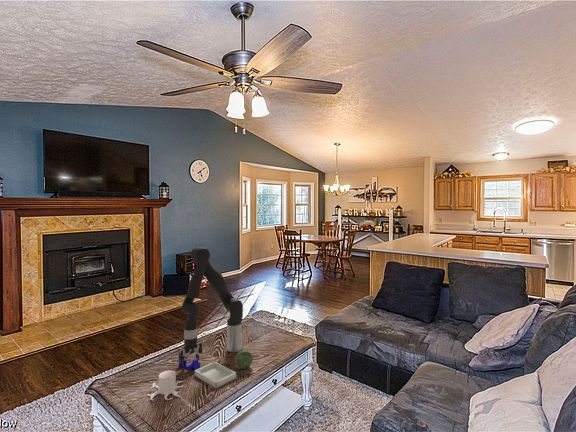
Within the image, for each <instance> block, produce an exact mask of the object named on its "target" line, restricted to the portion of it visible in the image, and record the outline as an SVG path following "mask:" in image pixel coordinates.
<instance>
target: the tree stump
mask: <svg viewBox="0 0 576 432" xmlns="http://www.w3.org/2000/svg"><path fill="white" fill-rule="evenodd" d="M176 373H177V371H174V370H165V371H162V372H161V373H158V374H159V375H158V385H156V381H155V382H153V383H152V386H151V387H150V388H149V390H150V389H153V388H156V391H154V393H153V392H152V393H151V394H149V393H147V397H150V401H155V399H153V398H154V397H155V396H157V395H162V396H163V395H164V400H165V401H170V400H173V399H174V398H173V397H171V398H168V397H169V395H170V394H172V395H173V396H174V397H176V398H177V397H178V398H181V395H179V394H178V393H179V391H176V390H177V389H179V388H182V387H184V386H185V384H183V385H178V384H179V383H183V382H185V380H176V378H177V377H176V375H177V374H176Z"/></svg>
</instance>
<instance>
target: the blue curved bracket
mask: <svg viewBox="0 0 576 432" xmlns="http://www.w3.org/2000/svg"><path fill="white" fill-rule="evenodd" d="M178 367H181V368H184V369H186V370H189V371H193V372H195V370H197V369H199V368H201V362H199V361H198V359H197V358H196V357H195V358H194V359H193V360H192V362H191V363H189V362H188V361H187V360H186V367H184V366H183V365H182V361H181V360H179V359H178Z"/></svg>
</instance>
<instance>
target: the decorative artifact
mask: <svg viewBox="0 0 576 432" xmlns="http://www.w3.org/2000/svg"><path fill="white" fill-rule="evenodd" d="M253 358H254V357H253V354H252V353H251V352H250V350H248V349H241V350H240V351H239V352H236V355H235V357H234V361H235V365H236V366H237V368H239V369H241V370H244V369H248V368H249V367H250V366H251V365H252V363H253V361H254V360H253Z"/></svg>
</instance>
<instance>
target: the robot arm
mask: <svg viewBox="0 0 576 432" xmlns="http://www.w3.org/2000/svg"><path fill="white" fill-rule="evenodd" d="M210 257H211V254H210V250H209V249H208V248H206V247H199V246H198V247H194V248H193V249H191V251H190V258H191V260H192V261H193V263H194V264H195V269H194V273H193V274H192V276H191V278H190V281H189V284H188V288H187V292H186V293H187V294H186V296H185V298H184V299H183V302H182V305H181V310H182V312H183V313H184V315H185V314H186V315H188V318H186V319H185V320H184V330H183V346H184V347H183V348H182V349H181V348H180V349H179V350H178V361H179V360H181V361H182V365H183V366H184V367H186V361H187V359H188V357H189V356H190V355H191V354H195V359H196V358H197V359H198V362H199V361H200V354H202V353H203V343H202V342H198V318H199V316H200V315H199V314H200V306H199V304H198V303H196V302H194V301H195V299H198V298H199V297H200V293H201V289H202V288H201V287H202V283H203V278H205V279H206V280H207V282H208V284H209V285H210V287H211V288H212V289H213V291H214V292H215V294H216V295H217V296H218V297H219V299H220V300H221V302H222V304H223V306H224V308H225V310H226V311H227V312H229V317H228V319H226V329H227V330H226V331H227V333H226V334H227V335H226V339H227V343H226V346H227V347H226V348H227V352H228V353H229V352H230V353H238V352H239V351H241V350H243V348H244V347H243V346H244V344H243V343H244V341H243V340H244V339H243V338H244V335H243V333H242V321H243V316H244V314H243V313H244V307H243V302H242V301H241V300H240V299H238V298H236V297H235V296H233V295H232V293H231V292H230V291H229V287H228V284H227V281H226V279H225V277H224V275H223V274H222V273H221V272H220V270H219V269H217V267H215V266H214V265H212V263H211V262H210ZM182 365H181V366H182Z"/></svg>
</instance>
